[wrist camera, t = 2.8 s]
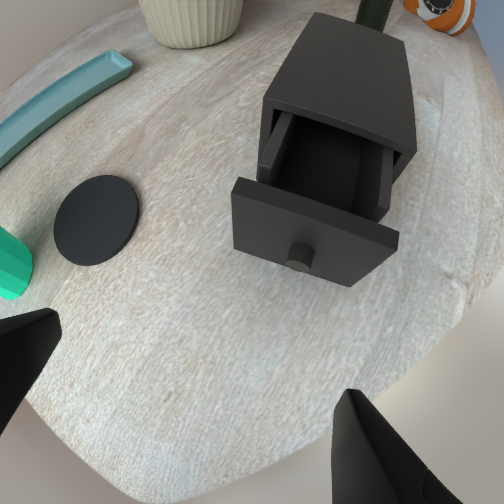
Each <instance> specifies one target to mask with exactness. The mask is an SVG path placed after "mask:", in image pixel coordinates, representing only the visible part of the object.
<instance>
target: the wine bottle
mask: <svg viewBox="0 0 504 504" xmlns="http://www.w3.org/2000/svg"><path fill="white" fill-rule="evenodd" d="M392 3H393V0H361V2H360V6H359V10H358V13H357V17H356V20H355V23H357V24H360V25H363V26H365V27H368V28H371V29H374V30H376V31H379V32H383V29H384V26H385V23H386V21H387V18H388V15H389V12H390V9H391V6H392Z"/></svg>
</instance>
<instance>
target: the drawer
mask: <svg viewBox="0 0 504 504" xmlns="http://www.w3.org/2000/svg"><path fill="white" fill-rule="evenodd" d="M393 154H394V150H393V149H391V148H389V147H386V146H384V145H382V144H379V143H377V142H374V141H372V140H369V139H367V138H364V137H361V136H359V135H356V134H353V133H351V132H348V131H345V130H342V129H340V128H337V127H334V126H331V125H328V124H325V123H322V122H319V121H316V120H313V119H309V118H306V117H303V116H299V115H296V114H293V113H289V112H285V111H282V113H281V115H280V117H279V119H278V122H277V124H276V126H275V128H274V131H273V133H272V135H271V137H270V139H269V142H268V144H267V146H266V148H265V151H264V153H263V155H262V158H261V160H260V162H259V166H258V177H257V182H256V181H253V180H249V179H246V178H243V177H238V179H237V181H236V183H235V185H234V187H233V190H232V192H231V204H232V224H233V244H234V249H236V250H239V251H242V252H245V253H248V254H251V255H254V256H257V257H260V258H263V259H266V260H269V261H272V262H275V263H278V264H281V265H284V266H287V267H289V268H291V269H293V270H296V271H300V272H305V273H308V274H311V275H314V276H317V277H320V278H323V279H326V280H329V281H331V282H334V283H337V284H340V285H343V286H346V287H351V286H352V285H354V284H355V283H356V282H358V281H359V280H360V279H362V278H363V277H364V276H366V275H367V274H368V273H370V272H371V271H372V270H373V269H375V268H376V267H377V266H379V265H380V264H381V263H382V262H384V261H385V260H386V259H387V258H389V257H390V256H391V255H392V254H394V253H395V252H396V251H397V249H398V241H399V232H398V231H396V230H393V229H391V228H388V227H386V226H383V225H381V224H378V222H379V221H380V220H381V219H382V218H383V217H384V215H385V214H386V213H387V212H388V211H389V209H390V199H391V187H392V173H393Z"/></svg>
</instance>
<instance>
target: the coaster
mask: <svg viewBox="0 0 504 504" xmlns="http://www.w3.org/2000/svg"><path fill="white" fill-rule="evenodd" d="M138 217H139V203H138V198H137V196H136V194H135V192H134V190H133V188H132V187H131V186H130V184H129V183H127V182H126V181H125V180H123V179H121V178H119V177H116V176H112V175H102V176H97V177H93V178H91V179H88V180H86V181H84V182H83V183H81V184H80V185H78V186H77V187H76V188H74V189H73V190H72V191H71V192H70V193H69V194H68V195H67V197H66V198H65V199H64V201H63V202H62V204H61V206H60V208H59V209H58V212H57V214H56V218H55V222H54V240H55V243H56V246H57V248H58V250H59V252H60V253H61V254H62V255H63V256H64V257H65V258H66V259H67V260H69V261H71V262H72V263H74V264H77V265H82V266H91V265H96V264H100V263H102V262H105V261H107V260H108V259H110V258H112V257H113V256H115V255H116V254H117V253H118V252H119V251H120V250H122V248H123V247H124V246H125V245H126V244H127V242H128V241H129V240H130V238H131V236H132V235H133V233H134V230H135V228H136V225H137V222H138Z"/></svg>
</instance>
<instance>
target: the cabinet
mask: <svg viewBox="0 0 504 504" xmlns="http://www.w3.org/2000/svg"><path fill="white" fill-rule="evenodd" d="M282 111H285V112H289V113H293V114H296V115H299V116H303V117H306V118H309V119H313V120H316V121H319V122H322V123H325V124H328V125H331V126H334V127H337V128H340V129H342V130H345V131H348V132H351V133H353V134H356V135H359V136H361V137H364V138H367V139H369V140H372V141H374V142H377V143H379V144H382V145H384V146H386V147H389V148H391V149H393V150H394V154H393V173H392V185H393V184H394V182H395V181H396V180H397V178H398V177H399V176H400V174H401V173H402V171H403V170H404V169H405V167H406V166H407V165H408V163H409V162H410V160H411V159H412V157H413V156H414V155H415V153H416V152H417V142H416V126H415V114H414V104H413V95H412V88H411V80H410V74H409V68H408V62H407V56H406V51H405V46H404V42H403V41H401V40H399V39H396V38H394V37H392V36H389V35H387V34H384V33H382V32H379V31H376V30H374V29H371V28H368V27H365V26H363V25H360V24H357V23H354V22H350V21H347V20H344V19H341V18H337V17H334V16H330V15H326V14H323V13H319V12H315V13H314V14H313V16H312V17H311V19H310V20H309V22H308V23H307V25H306V26H305V28H304V30H303V31H302V33H301V34H300V36H299V38H298V39H297V41H296V42H295V44H294V46H293V47H292V49H291V51H290V52H289V54H288V56H287V57H286V59H285V61H284V62H283V64H282V66H281V67H280V69H279V71H278V72H277V74H276V76H275V78H274V79H273V81H272V83H271V84H270V86H269V88H268V90H267V91H266V93H265V95H264V97H263V106H262V117H261V129H260V140H259V152H258V163H257V175H256V180H257V177H258V166H259V162H260V160H261V158H262V155H263V153H264V151H265V148H266V146H267V144H268V142H269V139H270V137H271V135H272V133H273V131H274V128H275V126H276V124H277V122H278V119H279V117H280V115H281V113H282Z"/></svg>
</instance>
